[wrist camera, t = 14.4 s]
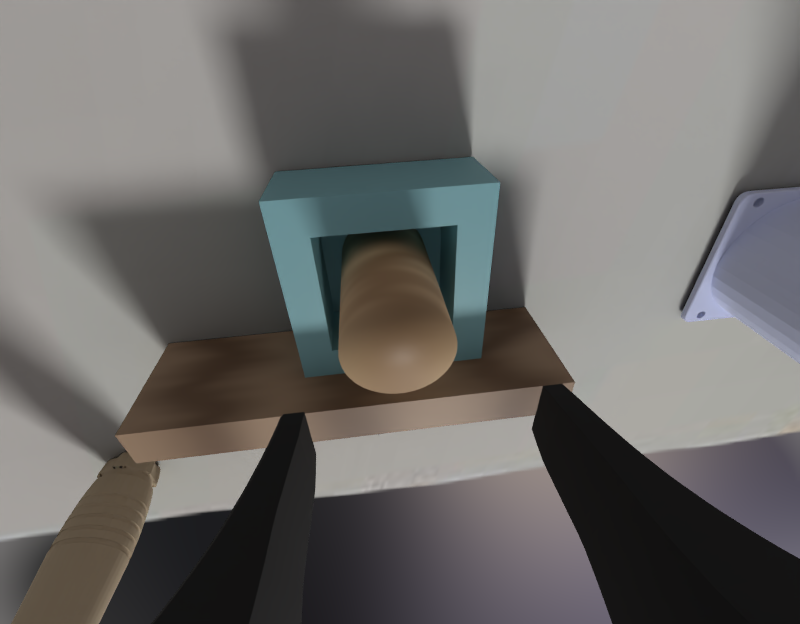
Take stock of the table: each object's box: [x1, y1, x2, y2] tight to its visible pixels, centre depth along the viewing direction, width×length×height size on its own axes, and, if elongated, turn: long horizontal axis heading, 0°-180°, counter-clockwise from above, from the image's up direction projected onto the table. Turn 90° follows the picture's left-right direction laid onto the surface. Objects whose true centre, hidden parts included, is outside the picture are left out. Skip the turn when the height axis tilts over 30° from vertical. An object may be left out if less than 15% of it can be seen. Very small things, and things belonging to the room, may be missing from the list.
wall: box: [115, 307, 575, 463], centre depth 20 cm, size 20×2×6 cm, turn 92°
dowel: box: [338, 229, 457, 394], centre depth 16 cm, size 4×4×7 cm
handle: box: [11, 452, 160, 624], centre depth 20 cm, size 5×6×15 cm
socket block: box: [259, 157, 500, 378], centre depth 18 cm, size 9×9×4 cm
